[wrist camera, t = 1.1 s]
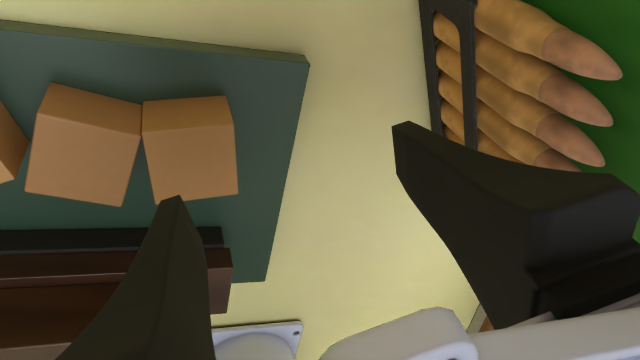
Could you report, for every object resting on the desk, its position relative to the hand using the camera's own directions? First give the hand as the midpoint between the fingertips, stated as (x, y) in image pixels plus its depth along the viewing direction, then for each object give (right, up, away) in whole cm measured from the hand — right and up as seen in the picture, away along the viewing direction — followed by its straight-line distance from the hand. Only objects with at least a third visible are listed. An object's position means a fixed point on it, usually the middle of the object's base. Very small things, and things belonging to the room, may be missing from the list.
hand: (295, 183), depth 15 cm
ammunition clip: (+8, +7, +11) cm, 15 cm away
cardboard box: (-6, +2, +8) cm, 10 cm away
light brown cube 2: (-10, +2, +6) cm, 12 cm away
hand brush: (-12, -4, +10) cm, 16 cm away
